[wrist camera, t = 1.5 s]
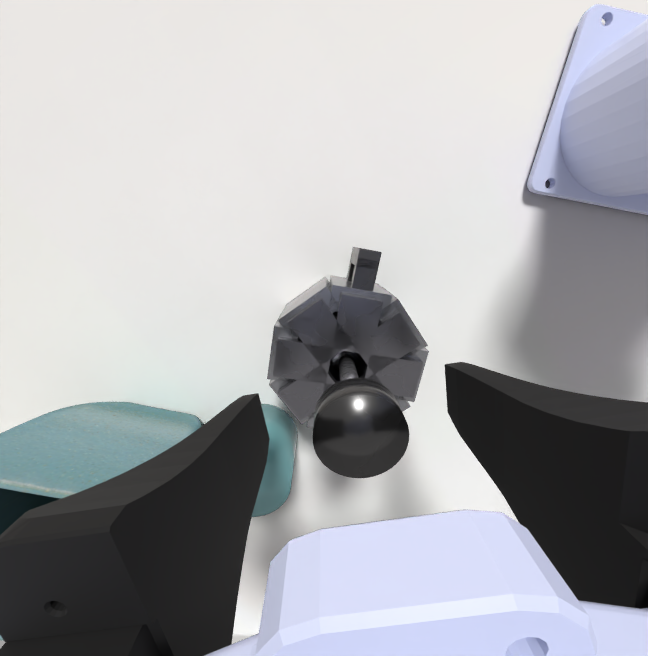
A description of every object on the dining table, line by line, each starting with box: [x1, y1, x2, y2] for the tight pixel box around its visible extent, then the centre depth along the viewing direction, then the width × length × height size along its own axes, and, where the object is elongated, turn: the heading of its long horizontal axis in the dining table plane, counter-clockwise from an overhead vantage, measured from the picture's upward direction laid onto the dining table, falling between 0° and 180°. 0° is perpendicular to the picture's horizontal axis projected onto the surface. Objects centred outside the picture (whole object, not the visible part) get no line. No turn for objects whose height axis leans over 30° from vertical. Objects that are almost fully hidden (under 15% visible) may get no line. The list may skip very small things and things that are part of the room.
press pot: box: [267, 247, 429, 428], centre depth 16 cm, size 8×9×4 cm
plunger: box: [313, 356, 409, 478], centre depth 12 cm, size 3×3×6 cm
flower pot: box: [0, 402, 202, 641], centre depth 16 cm, size 9×9×9 cm
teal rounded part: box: [252, 404, 297, 517], centre depth 19 cm, size 5×5×4 cm
